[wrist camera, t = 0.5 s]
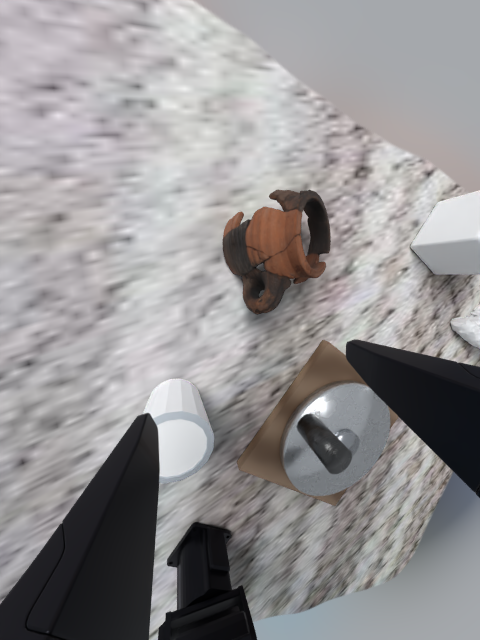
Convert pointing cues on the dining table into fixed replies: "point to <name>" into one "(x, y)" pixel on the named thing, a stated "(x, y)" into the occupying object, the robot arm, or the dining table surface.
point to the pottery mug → (276, 247)
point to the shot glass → (180, 429)
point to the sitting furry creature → (468, 327)
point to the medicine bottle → (451, 236)
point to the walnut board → (266, 443)
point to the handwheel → (334, 437)
